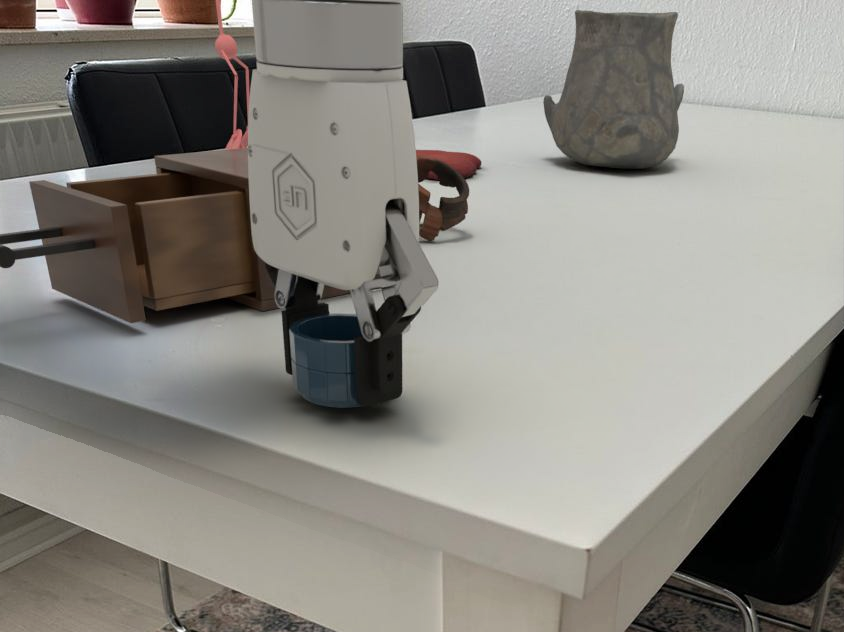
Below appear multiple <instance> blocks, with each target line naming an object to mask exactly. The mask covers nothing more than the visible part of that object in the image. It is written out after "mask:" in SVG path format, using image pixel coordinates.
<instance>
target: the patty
mask: <svg viewBox="0 0 844 632" xmlns="http://www.w3.org/2000/svg"><path fill="white" fill-rule="evenodd" d="M416 156H426V157H430V158H433V159H437V160H440V161H442V162H444V163H446V164H448V165H450V166H451V167H453V168H454V169H456V170H457V171H458V172H459V173H460V174H461V175H462V176H463V178H464V179H466V178H469V177H472V176H473V174H475V173H476V172H477V171H478V169H479V168H480V167H482V160H481V159H480V158H479V157H478V156H477V155H474V154H472V153H467V152H461V151H460V152H459V151H446V150H439V149H416ZM426 179H429V180H437V181H440V180H439V179H438V177H437V175H436V174H435V173H433V172H432V171H430V172H429V174H428V177H427V178H426Z"/></svg>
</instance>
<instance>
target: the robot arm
mask: <svg viewBox="0 0 844 632" xmlns="http://www.w3.org/2000/svg"><path fill="white" fill-rule="evenodd" d="M403 2H404V0H251V9H252V10H251V11H252V21H253V22H252V23H253V34H254V35H253V36H254V46H255V47H254V48H255V59H256V68H255V69H252V73H251V80H250V87H249V97H250V100H249V114H247V126H248V146H247V148H248V177H249V202H250V218H251V235H252V241H253V246H254V250H255V252H256V253H257V255H258V256H259V257H260V258H261V259H262V260H263V261H264V262H265V267H266V270H267V272H268V274H269V276H270V278H271V280H272V282H273V284H274V285H275V293H274V297H275V302H276V304H277V306H278V307H279V308H278V309H280V310H281V322H282V323H281V324H282V325H281V326H282V337H283V338H282V339H283V351H284V364H285V372H286V373H287V374H288V375H290V376H292V377H293V375H292V360H291V359H292V358H291V348H290V333H289V329H290V327H291V325H292V323H294V322H296V321H298V320H300V319H302V318H305V317H310V316H315V315H321V314H330V310H329V309H330V308H329V305H330V304H329V303H327V302H320V301H321V300H322V299H321V298H322V293H323V289H324V284H325V285H328V286H331V287H334V288H337V289H341V290H350V292H351V293H350V296H351V300H352V304H353V306H354V311H355V314H356V315H357V318H358V322H359V326H360V330H361V333H362V337H358V338H354V367H355V397H356V402H357V404H358V405H361V406H360V407H363V408H369V407H372V406H376V405H379V404H382V403H386V402H389V401H393V400H395V399H399V398H400V397H401V396H402V394H403V335H404V334H407V333H409V332H410V331H411V324H412V322H413V321H414V319H416V317H417V316H418V315H419V314H420V312H421V310H422V307H423V306H424V305H425V304H426V303H427V302H428V301H429V300H430V298H431V297H432V296H433V295H434V294H435V293H436V292H437V290H438V288H439V278H438V277H437V275H436V272H435V271H434V268H433V267H432V265H431V263H430V261H429V260H428V257H427V256H426V254H425V252H424V250H423V249H422V246H421V245H420V235H419V229H420V223H419V193H418V184H419V183H418V173H417V160H416V150H417V149H416V139H415V130H414V129H415V128H414V122H413V121H414V120H413V113H412V107H411V100H410V94H409V88H408V81H407V80H403V79H404V67H403V66H404V5H403V4H402V3H403ZM376 274H378V275H380V277H377V278H374V277H375V275H376ZM376 291H381V293H382V297H383V303H382V304H381V305H380V306H379V308H378V309H377V307H376V304H375V303H376V302H375V300H374V295H373V292H376Z"/></svg>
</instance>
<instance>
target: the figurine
mask: <svg viewBox="0 0 844 632" xmlns="http://www.w3.org/2000/svg"><path fill="white" fill-rule="evenodd" d="M215 6H216V14H217V21H218V29H219V35H218V36H217V38H216V40H215V42H214V49H215V51H216V53H217V54H218V56H219V57H220V58H222V59H223V60H225V62H226V63H227V65H228V67H229V68H230V70H231V71H232V73H233V75H234V89H233V92H234V93H233V94H234V95H233V98H234V99H233V130H232V131H233V132H232V133H233V134H232V135H231V137H230V139H229V140H228V142H227V144H226V147H225V149H224V150H229V149H241V148H248V125H247V126H245V127H246V130H245V132H244V134H243V131H242V129H240V128H237V119H238V118H237V114H238V89H239V88H238V87H239V84H238V83H239V82H238V81H239V75H238V72H237V71H236V70H235V68H234V66H233V64H232V63H231V61H230V60H231V59H233V60H234V61H236V63H238V64H239V65H240V66H241V67H243V68H244V69H245V86H246V87H245V88H246V109H247V115H248V114H249V100H250V70H249V67H248V66H247V65H246V64H245V63H244V62H243V61H241V60H240V59H239V58H238V57H237V56H236V55H237V53H238V45H237V42H236V40H235V39H234V37H233V36H231V35H230V34H225V33H224V28H223V19H222V17H223V16H222V9H221V8H222V7H221V0H215Z"/></svg>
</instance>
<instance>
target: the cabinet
mask: <svg viewBox="0 0 844 632" xmlns="http://www.w3.org/2000/svg"><path fill="white" fill-rule="evenodd" d="M153 158H154V165H155V173H156V174H159V173H169V172H180V173H184V174H188V175H192V176H196V177H200V178H204V179H208V180H213V181H217V182H221V183H225V184H229V185H233V186H237V187H241V188H245V189H246V200H247V210H248V220H249V230H250V241H251V251H252V261H253V271H254V281H255V291H256V292H251V293H245V294H240V295H235V296H230V297H225V298H224V299H228V300H231V301H234V302H236V303H238V304H242V305H244V306H247V307H250V308H253V309H256V310H259V311H261V312H267V311H272V310H276V309H280V308H279V307H278V306H277V304H276V302H275V297H274V293H275V285H274V284H273V282H272V280H271V278H270V276H269V274H268V272H267V270H266V267H265V262H264V261H263V260H262V259H261V258H260V257H259V256H258V255H257V253H256V252H255V250H254V246H253V241H252V235H251V218H250V202H249V177H248V147H247V148H241V149H229V150H225V149H220V150H209V151H207V150H206V151H197V152H194V151H193V152H185V153H184V152H183V153H173V154H161V155H154V156H153ZM377 277H380V275H378V274H376V275H375V277H374V278H377ZM347 294H351V292H350V290H341V289H337V288H334V287H331V286H328V285H325V284H324V289H323V293H322V298H321V300H323V299H328V298H332V297H337V296H342V295H347Z"/></svg>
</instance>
